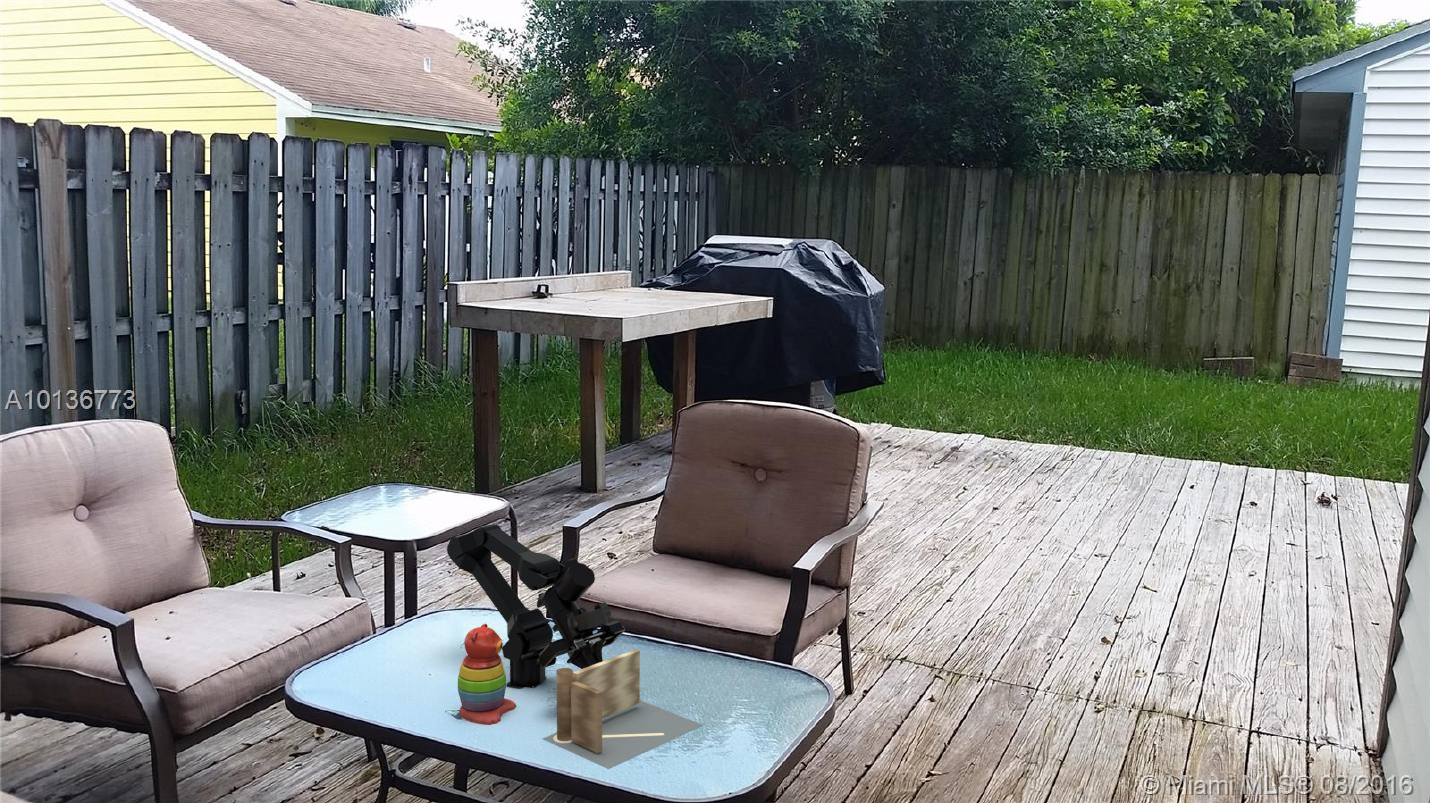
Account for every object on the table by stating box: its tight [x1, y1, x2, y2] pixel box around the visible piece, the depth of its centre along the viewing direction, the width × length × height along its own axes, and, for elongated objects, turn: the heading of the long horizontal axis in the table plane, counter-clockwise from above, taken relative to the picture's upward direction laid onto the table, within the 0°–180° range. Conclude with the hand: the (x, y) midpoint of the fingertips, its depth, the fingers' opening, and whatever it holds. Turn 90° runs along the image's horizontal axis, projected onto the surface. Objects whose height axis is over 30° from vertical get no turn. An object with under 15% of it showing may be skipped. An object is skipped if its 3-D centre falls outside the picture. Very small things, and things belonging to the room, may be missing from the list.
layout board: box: [542, 700, 704, 770], centre depth 221 cm, size 18×25×1 cm
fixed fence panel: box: [555, 667, 602, 753], centre depth 214 cm, size 11×3×13 cm, turn 48°
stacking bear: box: [457, 623, 517, 726], centre depth 228 cm, size 11×10×18 cm
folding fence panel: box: [573, 649, 641, 718], centre depth 225 cm, size 16×1×11 cm, turn 138°
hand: (603, 679), depth 229 cm, fingers closed
